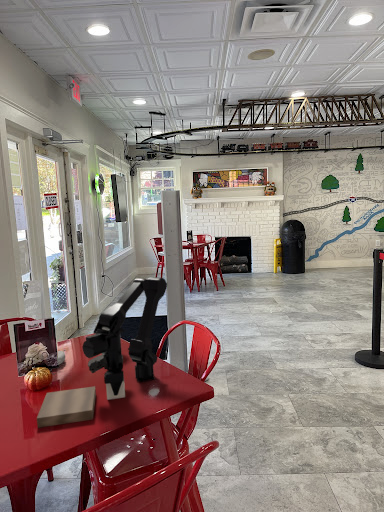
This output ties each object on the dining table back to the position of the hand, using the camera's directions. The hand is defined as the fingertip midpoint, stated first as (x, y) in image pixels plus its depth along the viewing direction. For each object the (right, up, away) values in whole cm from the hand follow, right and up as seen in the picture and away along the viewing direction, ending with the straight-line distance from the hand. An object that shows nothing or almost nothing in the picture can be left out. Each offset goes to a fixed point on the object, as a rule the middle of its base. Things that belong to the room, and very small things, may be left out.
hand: (115, 390), depth 125 cm
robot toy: (-35, 0, +29) cm, 45 cm away
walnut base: (-13, -3, -9) cm, 16 cm away
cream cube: (0, -1, 0) cm, 1 cm away
